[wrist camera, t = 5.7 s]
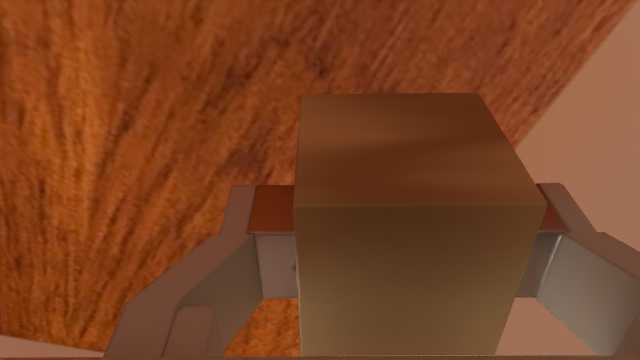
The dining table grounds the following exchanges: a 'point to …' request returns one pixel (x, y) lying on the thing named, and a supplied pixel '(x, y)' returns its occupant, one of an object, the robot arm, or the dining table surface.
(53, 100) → the dining table surface
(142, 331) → the robot arm
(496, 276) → the block
